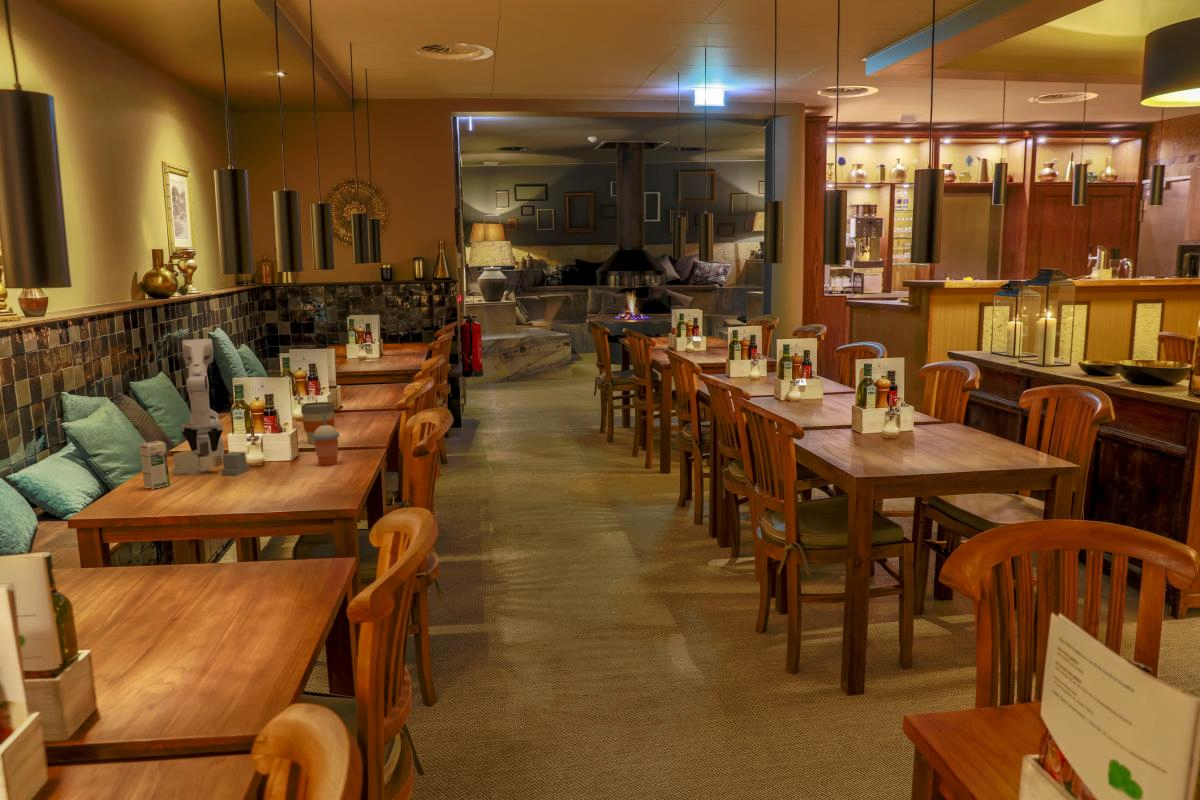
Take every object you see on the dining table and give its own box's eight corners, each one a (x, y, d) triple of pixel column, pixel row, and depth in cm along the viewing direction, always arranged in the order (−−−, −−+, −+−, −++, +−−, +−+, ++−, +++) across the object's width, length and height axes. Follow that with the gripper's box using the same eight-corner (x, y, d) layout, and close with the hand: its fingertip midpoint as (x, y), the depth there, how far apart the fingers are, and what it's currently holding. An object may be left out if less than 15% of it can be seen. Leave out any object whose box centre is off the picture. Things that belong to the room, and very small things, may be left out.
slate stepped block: (222, 475, 295) (220, 456, 293) (235, 469, 302) (234, 450, 301) (235, 475, 294) (233, 456, 293) (249, 469, 301) (247, 451, 300)
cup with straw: (336, 466, 303) (332, 415, 301) (310, 466, 304) (306, 415, 301) (344, 460, 312) (341, 410, 310) (319, 460, 313) (315, 411, 310)
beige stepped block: (172, 474, 298) (170, 455, 297) (187, 468, 306) (185, 450, 304) (196, 474, 296) (194, 455, 295) (210, 469, 304) (209, 450, 303)
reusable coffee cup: (304, 440, 350) (301, 403, 347) (336, 437, 353) (334, 401, 351) (303, 446, 338) (300, 408, 336) (337, 443, 342) (334, 405, 339)
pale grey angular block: (178, 466, 299) (176, 443, 298) (185, 463, 303) (183, 441, 302) (216, 467, 297) (213, 444, 296) (222, 464, 300) (220, 441, 299)
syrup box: (152, 490, 277) (147, 445, 275) (143, 487, 281) (138, 443, 278) (170, 486, 282) (165, 442, 279) (161, 483, 285) (156, 440, 283)
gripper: (173, 413, 294) (177, 452, 296) (212, 413, 291) (216, 453, 293) (186, 409, 301) (190, 448, 303) (225, 409, 298) (229, 448, 300)
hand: (204, 450), depth 299 cm, fingers open, 7 cm apart
